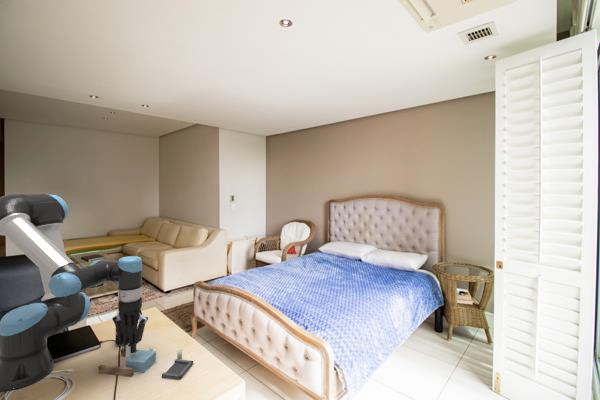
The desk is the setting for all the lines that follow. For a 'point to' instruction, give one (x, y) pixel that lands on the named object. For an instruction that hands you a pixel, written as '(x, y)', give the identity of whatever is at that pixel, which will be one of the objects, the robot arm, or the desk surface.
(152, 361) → the block
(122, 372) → the parallel brown rails
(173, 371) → the tray
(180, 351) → the goal posts
